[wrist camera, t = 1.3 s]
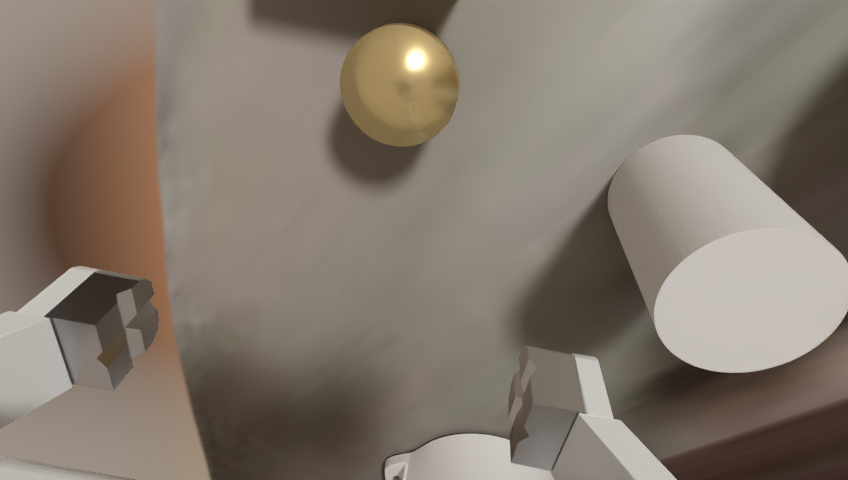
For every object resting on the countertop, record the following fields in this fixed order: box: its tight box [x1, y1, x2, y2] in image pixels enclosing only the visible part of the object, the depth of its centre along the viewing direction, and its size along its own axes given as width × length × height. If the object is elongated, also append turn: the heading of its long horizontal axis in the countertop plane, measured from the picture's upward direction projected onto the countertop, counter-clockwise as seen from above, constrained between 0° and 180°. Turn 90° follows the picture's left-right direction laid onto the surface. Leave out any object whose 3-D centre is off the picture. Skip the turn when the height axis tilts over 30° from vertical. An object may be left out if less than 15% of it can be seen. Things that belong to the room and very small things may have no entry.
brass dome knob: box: [340, 23, 459, 147], centre depth 29 cm, size 6×6×6 cm
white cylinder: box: [607, 135, 848, 373], centre depth 28 cm, size 8×8×12 cm
